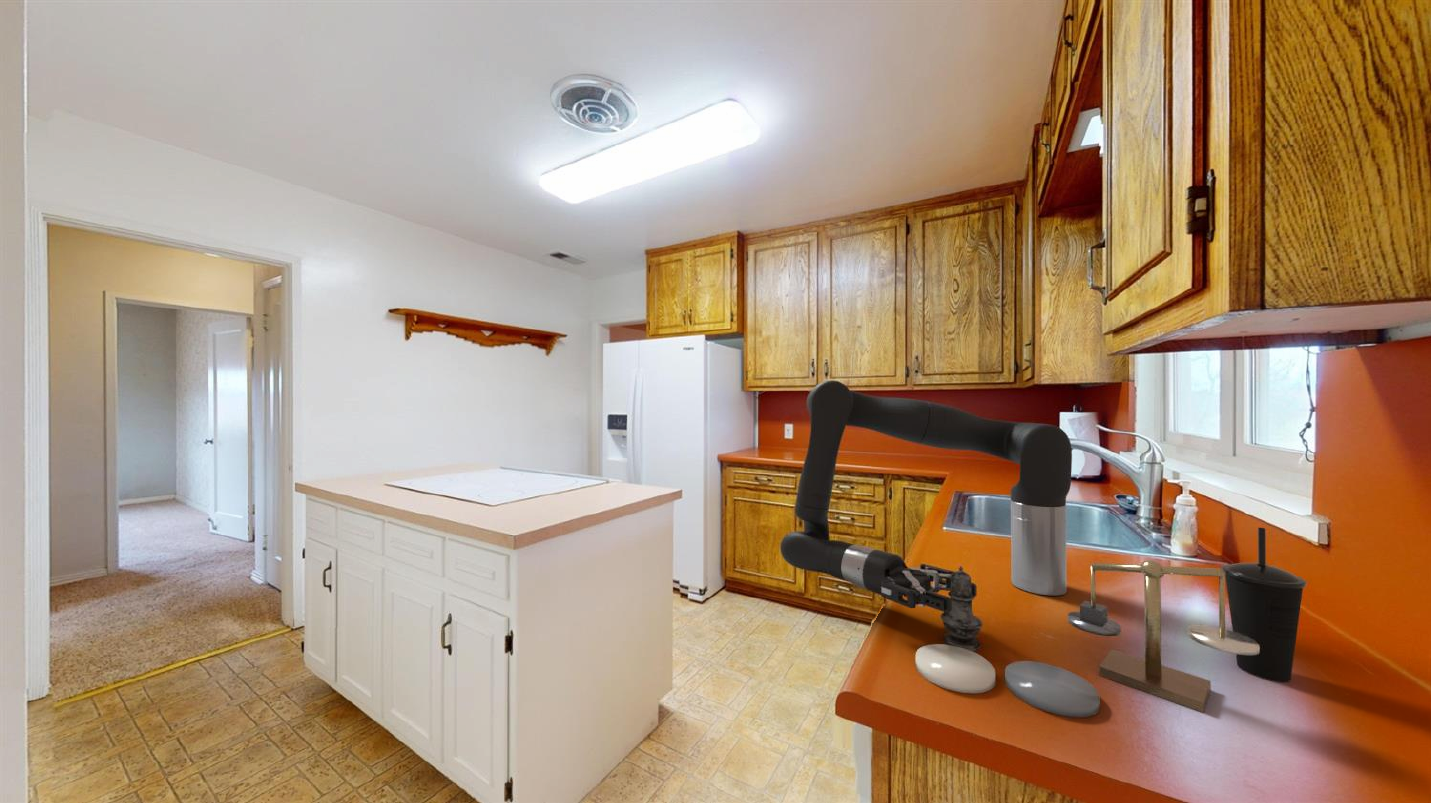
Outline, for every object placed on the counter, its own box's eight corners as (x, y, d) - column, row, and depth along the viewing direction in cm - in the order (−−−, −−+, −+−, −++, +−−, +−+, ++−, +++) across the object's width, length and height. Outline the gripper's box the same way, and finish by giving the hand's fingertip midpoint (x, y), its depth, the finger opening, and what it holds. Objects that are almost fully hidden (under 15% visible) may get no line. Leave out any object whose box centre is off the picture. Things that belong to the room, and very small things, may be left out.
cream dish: (936, 645, 73) (936, 637, 73) (1007, 674, 65) (1007, 665, 65) (901, 668, 67) (901, 659, 67) (975, 703, 59) (975, 694, 59)
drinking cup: (1271, 659, 68) (1270, 522, 68) (1326, 691, 60) (1325, 537, 60) (1207, 653, 69) (1206, 519, 69) (1253, 684, 62) (1252, 534, 62)
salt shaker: (988, 653, 70) (988, 574, 70) (946, 649, 71) (946, 571, 71) (975, 634, 76) (974, 560, 76) (936, 631, 77) (935, 558, 77)
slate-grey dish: (1021, 661, 68) (1021, 653, 68) (1109, 694, 60) (1109, 685, 60) (992, 688, 62) (992, 679, 62) (1086, 729, 54) (1086, 719, 54)
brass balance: (1076, 645, 72) (1074, 535, 72) (1262, 706, 57) (1260, 568, 57) (1061, 661, 68) (1060, 544, 68) (1258, 732, 53) (1256, 583, 53)
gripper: (849, 557, 82) (941, 585, 69) (893, 541, 90) (983, 564, 78) (849, 600, 82) (942, 636, 69) (894, 580, 90) (983, 609, 78)
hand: (963, 598), depth 73 cm, fingers open, 8 cm apart
